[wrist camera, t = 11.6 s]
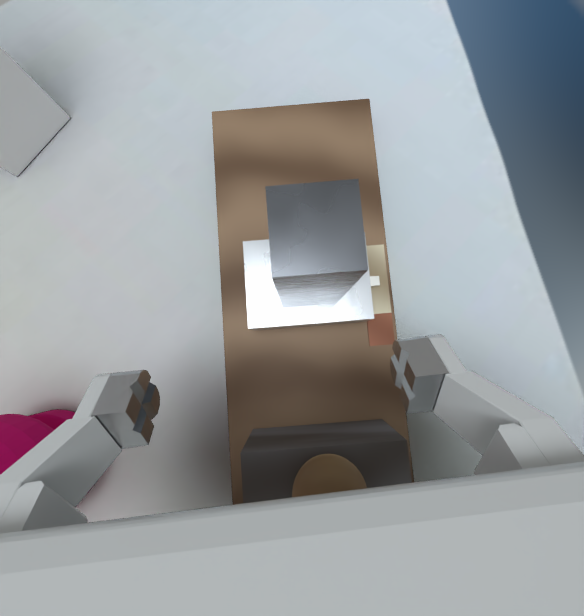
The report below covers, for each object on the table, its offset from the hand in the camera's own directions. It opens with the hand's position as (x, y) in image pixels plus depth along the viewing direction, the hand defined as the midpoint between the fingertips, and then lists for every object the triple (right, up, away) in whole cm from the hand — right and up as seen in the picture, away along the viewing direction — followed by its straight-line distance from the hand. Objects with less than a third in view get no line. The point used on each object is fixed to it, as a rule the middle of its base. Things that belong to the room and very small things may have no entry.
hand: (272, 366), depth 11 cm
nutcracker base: (+2, +3, +12) cm, 12 cm away
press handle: (+2, +3, +10) cm, 11 cm away
